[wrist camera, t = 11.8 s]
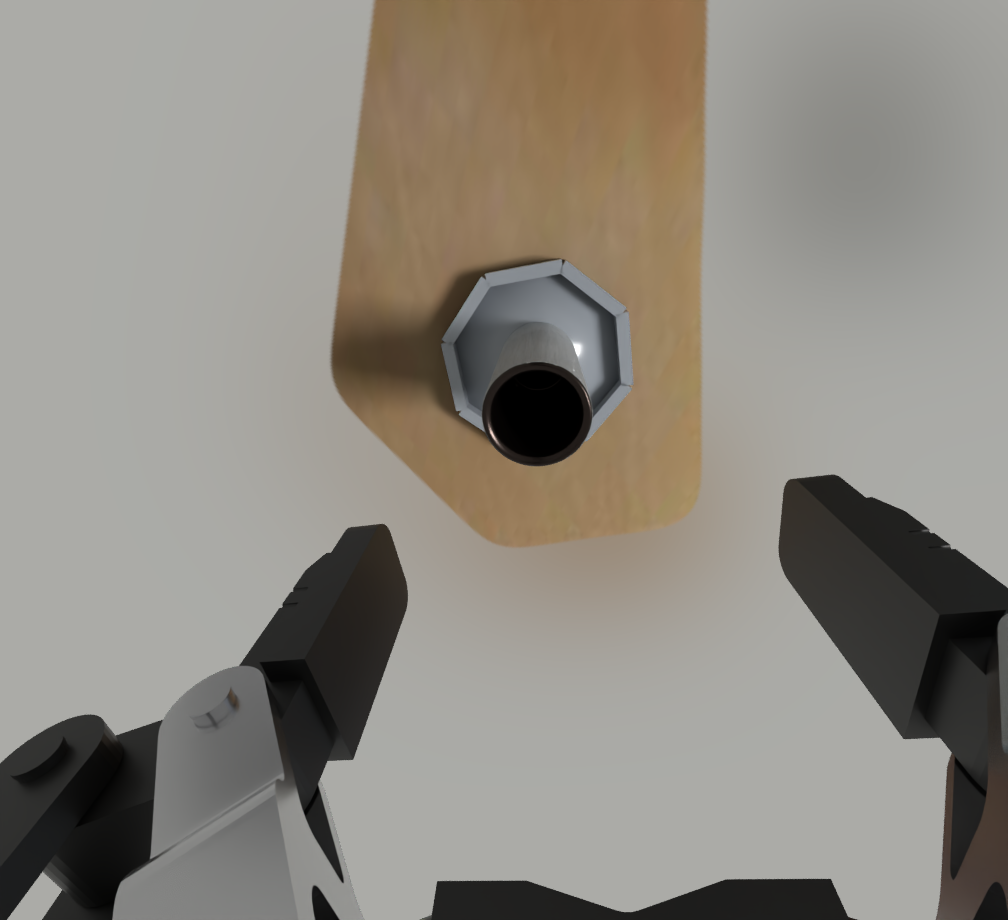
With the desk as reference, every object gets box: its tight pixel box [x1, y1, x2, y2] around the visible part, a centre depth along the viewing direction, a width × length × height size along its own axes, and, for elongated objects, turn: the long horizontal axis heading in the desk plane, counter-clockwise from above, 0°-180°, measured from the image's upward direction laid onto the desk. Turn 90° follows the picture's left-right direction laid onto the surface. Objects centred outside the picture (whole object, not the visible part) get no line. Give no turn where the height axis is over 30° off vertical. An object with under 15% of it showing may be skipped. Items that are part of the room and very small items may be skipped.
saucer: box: [441, 259, 633, 441], centre depth 28 cm, size 11×11×1 cm
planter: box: [482, 322, 593, 466], centre depth 24 cm, size 4×4×10 cm
